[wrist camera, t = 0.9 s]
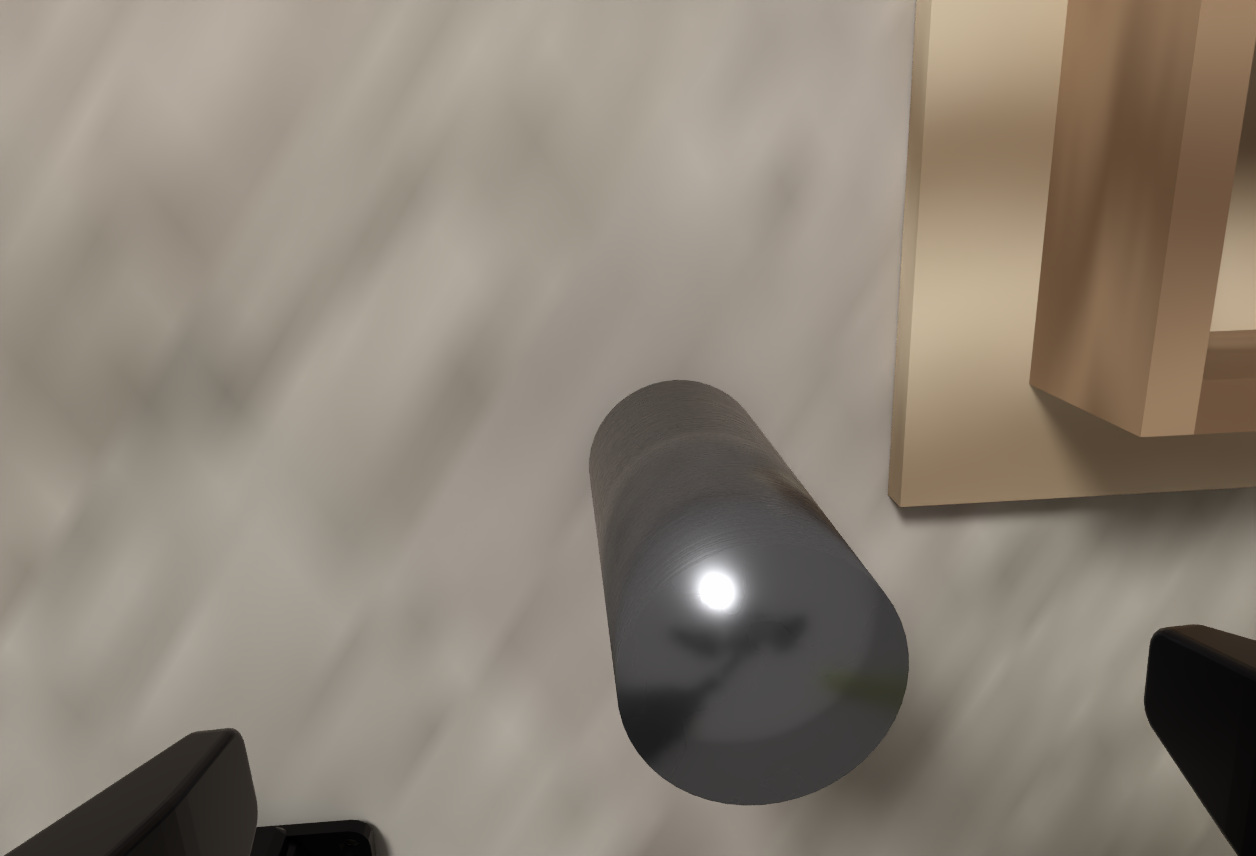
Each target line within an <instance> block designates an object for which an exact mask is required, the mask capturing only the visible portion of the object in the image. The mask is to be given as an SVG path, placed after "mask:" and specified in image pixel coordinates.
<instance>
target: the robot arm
mask: <svg viewBox="0 0 1256 856" xmlns="http://www.w3.org/2000/svg"><path fill="white" fill-rule="evenodd" d="M1144 706H1145V712H1146V715H1147V718H1148V721H1149V723H1150V725H1151V727H1152V729H1153V730H1154V732H1155V733H1156V735H1157V736H1158V738H1159V739H1160V741H1161V742H1162V744H1163V745H1164V747H1165V748H1166V750H1167V751H1168V753H1169V754H1170V756H1171V757H1172V759H1173V760H1174V762H1175V763H1176V765H1177V766H1178V768H1179V769H1180V771H1181V772H1182V774H1183V775H1184V777H1185V778H1186V780H1187V781H1188V783H1189V784H1190V786H1191V787H1192V789H1193V790H1194V792H1195V793H1196V795H1197V796H1198V798H1199V799H1200V801H1201V802H1202V804H1203V805H1204V807H1205V808H1206V810H1207V811H1208V813H1209V814H1210V816H1211V817H1212V819H1213V820H1214V822H1215V823H1216V825H1217V826H1218V828H1219V829H1220V831H1221V832H1222V834H1223V835H1224V837H1225V838H1226V839H1227V841H1228V842H1229V844H1230V845H1231V847H1232V848H1233V849H1234V851H1235V852H1236V854H1237V855H1238V856H1256V641H1255V640H1252V639H1248V638H1245V637H1241V636H1238V635H1234V634H1231V633H1228V632H1224V631H1221V630H1217V629H1214V628H1210V627H1207V626H1203V625H1183V626H1174V627H1166V628H1161V629H1159V630H1158V631H1156V632H1155V633H1154V634H1153V636H1152V638H1151V641H1150V646H1149V656H1148V665H1147V675H1146V685H1145V694H1144ZM257 815H258V810H257V800H256V795H255V790H254V785H253V781H252V776H251V771H250V767H249V762H248V757H247V753H246V748H245V744H244V740H243V738H242V736H241V734H240V733H239V732H238V731H237V730H235V729H233V728H225V729H216V730H207V731H197V732H194V733H191V734H189V735H187V736H186V737H184V738H183V739H181V740H179V741H178V742H176V743H175V744H173V745H172V746H170V747H169V748H167V749H166V750H164V751H163V752H161V753H160V754H158V755H157V756H155V757H154V758H152V759H151V760H149V761H148V762H146V763H144V764H143V765H141V766H140V767H138V768H137V769H135V770H134V771H132V772H131V773H129V774H128V775H126V776H125V777H123V778H122V779H120V780H119V781H117V782H116V783H114V784H112V785H111V786H109V787H108V788H106V789H105V790H103V791H102V792H100V793H99V794H97V795H96V796H94V797H93V798H91V799H90V800H88V801H87V802H85V803H84V804H82V805H81V806H79V807H77V808H76V809H74V810H73V811H71V812H70V813H68V814H67V815H65V816H64V817H62V818H61V819H59V820H58V821H56V822H55V823H53V824H52V825H50V826H49V827H47V828H45V829H44V830H42V831H41V832H39V833H38V834H36V835H35V836H33V837H32V838H30V839H29V840H27V841H26V842H24V843H23V844H21V845H20V846H18V847H17V848H15V849H14V850H12V851H10V852H9V853H7V854H6V855H4V856H376V848H375V840H374V834H373V832H372V829H371V828H370V827H369V826H368V825H367V824H366V823H364V822H361V821H359V820H343V821H330V822H317V823H305V824H292V825H279V826H266V827H256V826H257ZM349 839H350V840H355V841H356V842H358V843H359V844H357V845H349V844H348V843H346V842H345V840H349Z"/></svg>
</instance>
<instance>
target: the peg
mask: <svg viewBox="0 0 1256 856" xmlns="http://www.w3.org/2000/svg"><path fill="white" fill-rule="evenodd" d="M589 473H590V482H591V490H592V498H593V506H594V514H595V522H596V530H597V538H598V546H599V554H600V562H601V570H602V578H603V586H604V594H605V603H606V611H607V619H608V627H609V635H610V643H611V651H612V659H613V667H614V675H615V683H616V691H617V699H618V707H619V711H620V715H621V719H622V723H623V725H624V728H625V730H626V732H627V735H628V737H629V739H630V741H631V742H632V744H633V746H634V747H635V749H636V750H637V752H638V754H639V755H640V756H641V757H642V758H643V759H644V761H645V762H646V763H647V764H648V765H649V766H650V767H651V768H652V769H653V770H654V771H655V772H657V773H658V774H659V775H660V776H661V777H662V778H664V779H665V780H667V781H668V782H670V783H671V784H673V785H674V786H676V787H678V788H680V789H682V790H684V791H686V792H688V793H690V794H692V795H695V796H698V797H701V798H704V799H707V800H711V801H716V802H720V803H725V804H735V805H765V804H772V803H780V802H784V801H788V800H792V799H796V798H799V797H802V796H805V795H808V794H810V793H813V792H816V791H818V790H820V789H822V788H824V787H826V786H828V785H830V784H832V783H834V782H835V781H837V780H838V779H840V778H841V777H843V776H845V775H846V774H848V773H849V772H850V771H851V770H853V769H854V768H855V767H856V766H858V765H859V764H860V763H861V762H862V761H863V760H864V759H865V758H866V757H867V756H868V755H869V754H870V753H871V752H872V751H873V750H874V749H875V748H876V747H877V745H878V744H879V743H880V741H881V740H882V739H883V738H884V736H885V735H886V733H887V732H888V730H889V728H890V727H891V725H892V723H893V722H894V720H895V718H896V715H897V713H898V711H899V709H900V706H901V704H902V700H903V697H904V693H905V690H906V685H907V678H908V671H909V654H908V647H907V641H906V636H905V632H904V629H903V626H902V623H901V620H900V618H899V616H898V614H897V612H896V610H895V608H894V606H893V604H892V603H891V602H890V600H889V599H888V597H887V596H886V594H885V593H884V591H883V590H882V589H881V588H880V586H879V585H878V584H877V582H876V581H875V580H874V578H873V577H872V576H871V574H870V573H869V572H868V570H867V569H866V568H865V567H864V565H863V564H862V563H861V561H860V560H859V559H858V557H857V556H856V555H855V553H854V552H853V551H852V550H851V548H850V547H849V546H848V544H847V543H846V542H845V540H844V539H843V538H842V536H841V535H840V534H839V533H838V531H837V530H836V529H835V527H834V526H833V525H832V523H831V522H830V521H829V519H828V518H827V517H826V515H825V514H824V513H823V512H822V510H821V509H820V508H819V506H818V505H817V504H816V502H815V501H814V500H813V498H812V497H811V496H810V495H809V493H808V492H807V491H806V489H805V488H804V487H803V485H802V484H801V483H800V481H799V480H798V479H797V477H796V476H795V475H794V474H793V472H792V471H791V470H790V468H789V467H788V466H787V464H786V463H785V462H784V460H783V459H782V458H781V457H780V455H779V454H778V453H777V451H776V450H775V449H774V447H773V446H772V445H771V443H770V442H769V441H768V440H767V438H766V437H765V436H764V434H763V433H762V432H761V430H760V429H759V428H758V426H757V425H756V424H755V422H754V421H753V420H752V419H751V417H750V416H749V415H748V413H747V412H746V411H745V410H744V409H743V407H742V406H741V405H740V404H739V403H738V402H737V401H735V400H734V399H733V398H732V397H730V396H729V395H728V394H726V393H724V392H723V391H721V390H719V389H717V388H715V387H712V386H710V385H707V384H703V383H700V382H694V381H687V380H673V381H664V382H660V383H656V384H652V385H649V386H647V387H644V388H641V389H639V390H638V391H636V392H634V393H632V394H630V395H629V396H627V397H626V398H625V399H623V400H622V401H621V402H620V403H618V404H617V405H616V406H615V407H614V408H613V409H612V410H611V411H610V413H609V414H608V415H607V416H606V417H605V419H604V421H603V422H602V424H601V425H600V427H599V429H598V431H597V433H596V435H595V438H594V441H593V444H592V447H591V453H590V459H589Z"/></svg>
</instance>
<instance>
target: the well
mask: <svg viewBox="0 0 1256 856" xmlns="http://www.w3.org/2000/svg"><path fill="white" fill-rule="evenodd" d="M1245 487H1256V0H917V1H916V18H915V35H914V52H913V70H912V87H911V104H910V121H909V139H908V156H907V173H906V190H905V208H904V225H903V242H902V259H901V277H900V294H899V311H898V328H897V346H896V363H895V380H894V397H893V415H892V432H891V449H890V466H889V483H888V495H889V496H890V497H891V498H892V499H893V500H894V501H895V502H896V503H897V504H898V505H899V506H900V507H911V506H928V505H946V504H963V503H981V502H999V501H1016V500H1034V499H1051V498H1069V497H1086V496H1104V495H1122V494H1139V493H1157V492H1174V491H1192V490H1209V489H1227V488H1245Z"/></svg>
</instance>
